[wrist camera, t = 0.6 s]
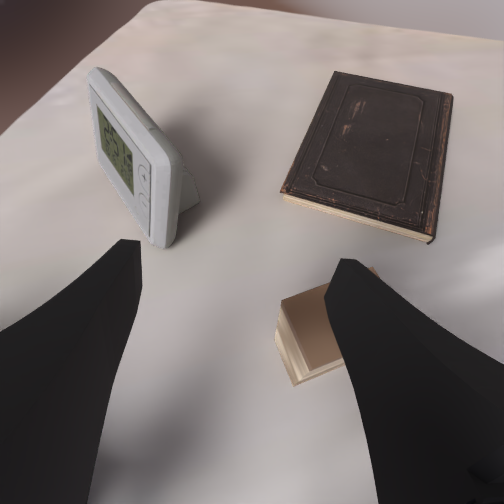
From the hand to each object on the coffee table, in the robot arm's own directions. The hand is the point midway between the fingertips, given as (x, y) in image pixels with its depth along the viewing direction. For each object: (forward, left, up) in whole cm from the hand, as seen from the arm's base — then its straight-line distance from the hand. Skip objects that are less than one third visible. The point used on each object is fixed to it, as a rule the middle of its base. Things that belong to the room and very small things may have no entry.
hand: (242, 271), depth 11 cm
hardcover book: (+18, -22, -17) cm, 33 cm away
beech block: (-1, -5, -17) cm, 18 cm away
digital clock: (+21, +5, -17) cm, 27 cm away
